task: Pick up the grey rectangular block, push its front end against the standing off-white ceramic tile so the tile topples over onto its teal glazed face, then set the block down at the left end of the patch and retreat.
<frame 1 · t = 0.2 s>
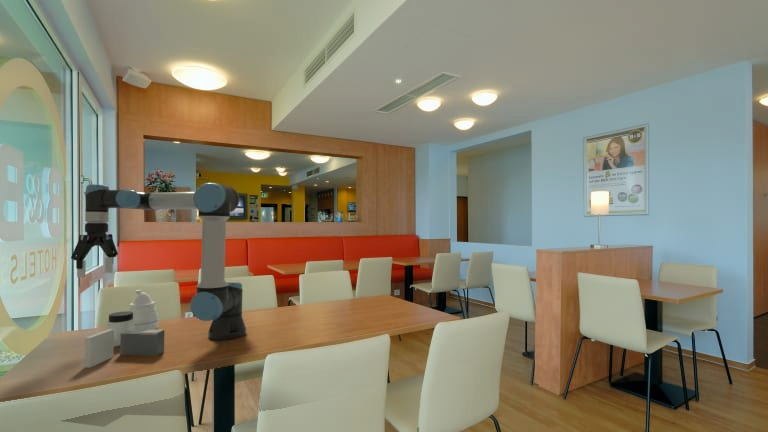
hand: (95, 274, 150), 28 cm above the table, fingers open, 13 cm apart
jar: (120, 343, 149), on the table
tile: (99, 362, 129), on the table
honey pot: (142, 329, 170), on the table
grey rectangular block: (142, 353, 137), on the table
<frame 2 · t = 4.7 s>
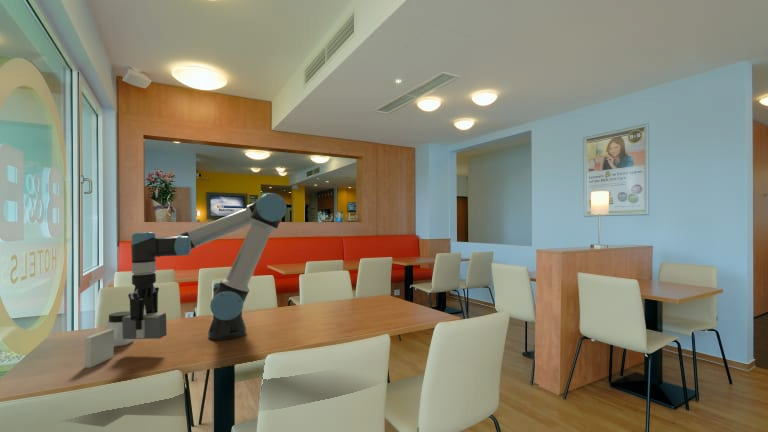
hand: (145, 335, 138), 6 cm above the table, fingers closed on grey rectangular block, 4 cm apart
grey rectangular block: (144, 337, 138), point 6 cm above the table, touching gripper
everything else where it was.
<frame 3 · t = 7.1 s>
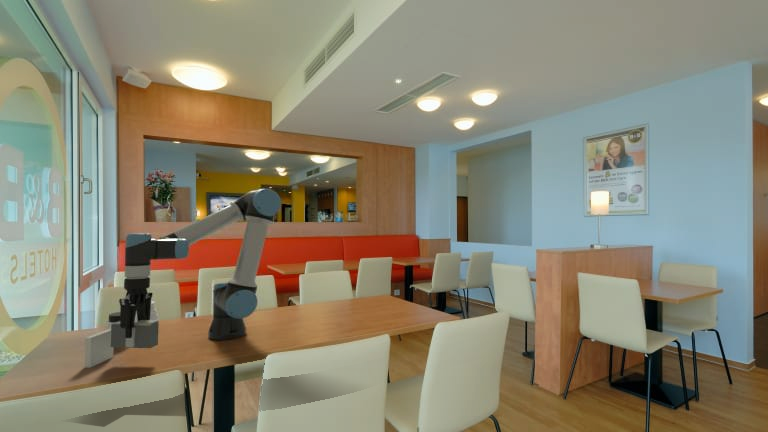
hand: (135, 344, 128), 6 cm above the table, fingers closed on grey rectangular block, 4 cm apart
grey rectangular block: (134, 345, 128), point 6 cm above the table, touching gripper
everything else where it was.
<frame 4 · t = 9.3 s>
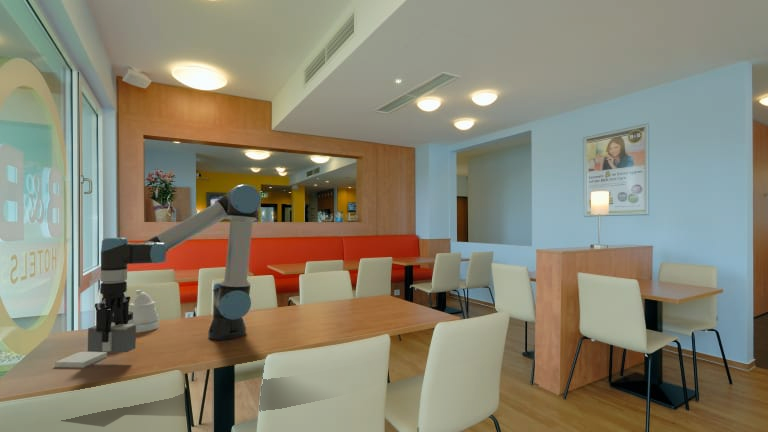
hand: (112, 348, 128), 5 cm above the table, fingers closed on grey rectangular block, 4 cm apart
tile: (95, 359, 129), point 1 cm above the table, tilted 90°
grey rectangular block: (111, 349, 128), point 4 cm above the table, touching gripper
everything else where it was.
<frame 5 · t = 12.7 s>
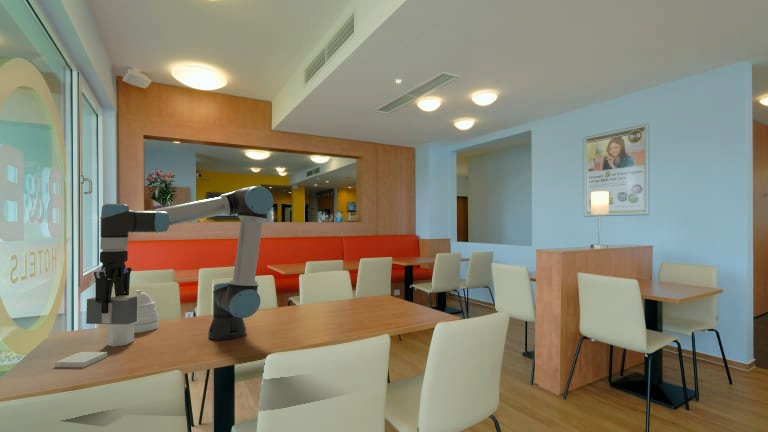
hand: (112, 321, 122), 16 cm above the table, fingers closed on grey rectangular block, 4 cm apart
grey rectangular block: (111, 322, 122), point 16 cm above the table, touching gripper
everything else where it was.
when the fingers open (1 cm above the table, at t = 15.5 s): grey rectangular block stays where it is, on the table.
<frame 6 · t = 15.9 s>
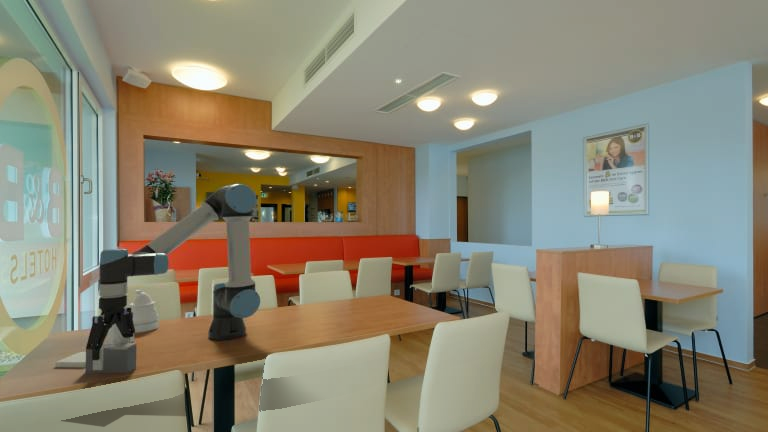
hand: (111, 363, 121), 2 cm above the table, fingers open, 10 cm apart
grey rectangular block: (111, 370, 121), on the table
everything else where it was.
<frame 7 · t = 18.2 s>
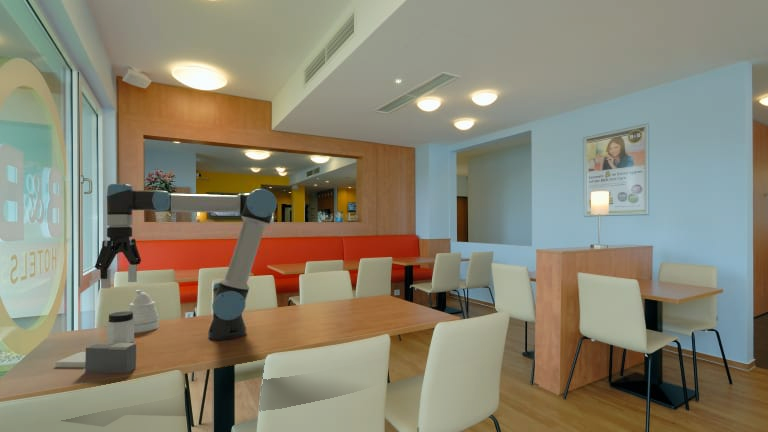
hand: (119, 285, 134), 26 cm above the table, fingers open, 13 cm apart
nothing on the table moved.
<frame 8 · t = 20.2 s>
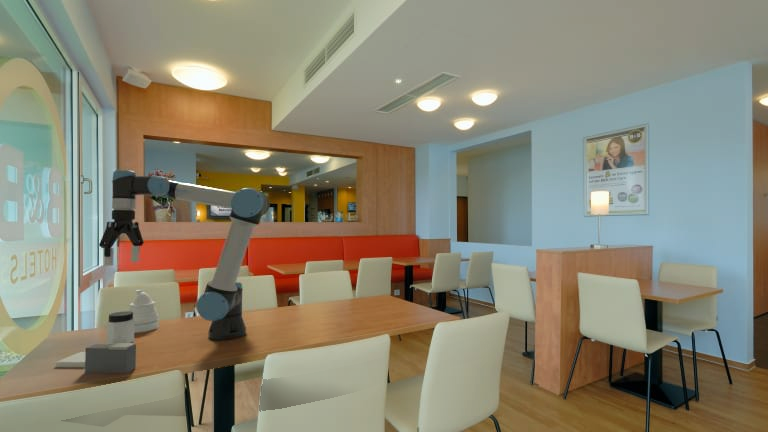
hand: (122, 263, 145), 33 cm above the table, fingers open, 13 cm apart
nothing on the table moved.
at the end: tile tilted 90°; the gripper is holding nothing; grey rectangular block inside the target area (0.3 cm from its centre), on the table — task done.
